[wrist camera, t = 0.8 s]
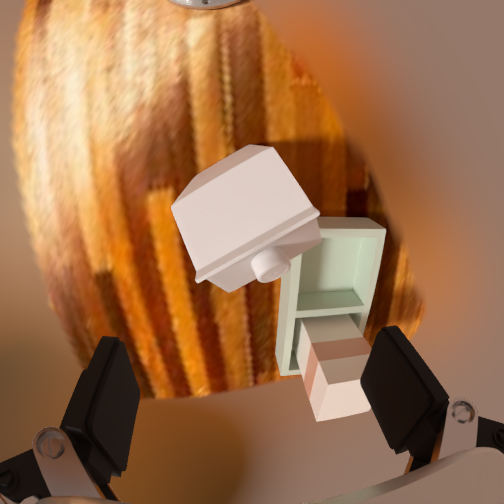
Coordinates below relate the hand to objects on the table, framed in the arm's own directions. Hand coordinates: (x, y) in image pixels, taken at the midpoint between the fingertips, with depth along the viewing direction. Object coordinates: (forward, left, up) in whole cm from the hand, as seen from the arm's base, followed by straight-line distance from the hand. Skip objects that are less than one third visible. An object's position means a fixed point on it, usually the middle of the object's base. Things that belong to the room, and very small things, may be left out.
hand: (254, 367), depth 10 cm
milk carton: (-2, +1, -25) cm, 25 cm away
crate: (+12, +12, -25) cm, 30 cm away
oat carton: (+17, +12, -24) cm, 31 cm away
